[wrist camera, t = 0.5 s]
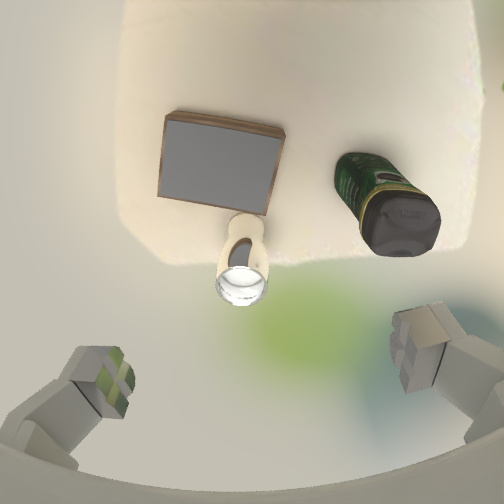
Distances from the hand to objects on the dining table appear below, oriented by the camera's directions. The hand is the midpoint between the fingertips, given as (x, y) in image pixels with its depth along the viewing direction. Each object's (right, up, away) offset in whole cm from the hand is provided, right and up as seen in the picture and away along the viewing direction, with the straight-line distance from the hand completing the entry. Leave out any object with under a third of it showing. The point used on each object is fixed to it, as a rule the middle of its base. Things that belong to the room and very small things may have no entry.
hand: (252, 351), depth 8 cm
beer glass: (-1, +7, +43) cm, 44 cm away
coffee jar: (+17, +15, +37) cm, 44 cm away
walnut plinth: (-5, +17, +36) cm, 40 cm away
